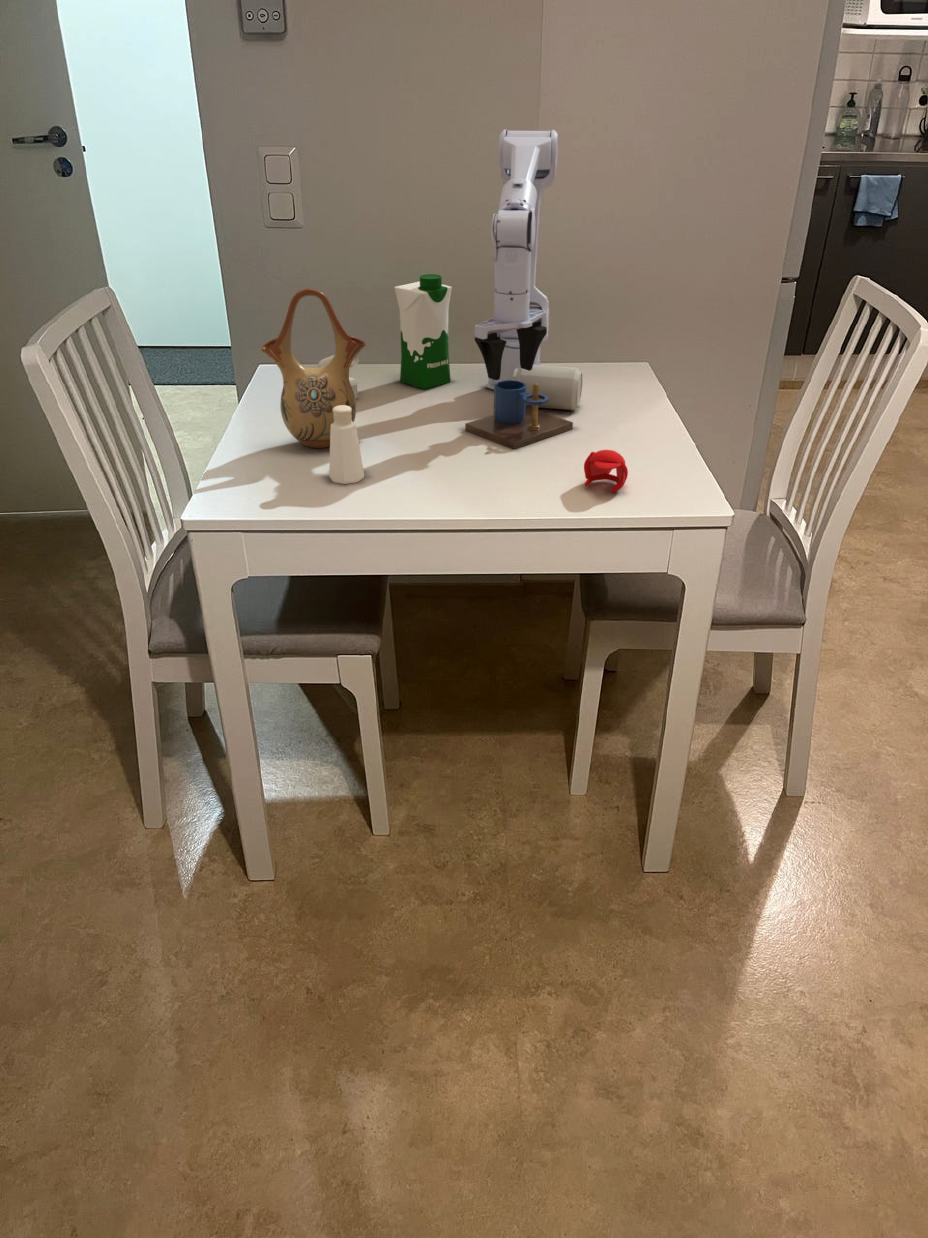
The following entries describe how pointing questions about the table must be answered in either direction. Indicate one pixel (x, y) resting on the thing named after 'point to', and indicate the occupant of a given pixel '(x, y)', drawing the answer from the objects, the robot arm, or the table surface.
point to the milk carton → (424, 332)
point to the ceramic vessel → (313, 379)
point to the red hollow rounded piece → (605, 468)
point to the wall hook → (351, 380)
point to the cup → (512, 401)
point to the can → (553, 385)
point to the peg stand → (521, 426)
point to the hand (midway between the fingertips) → (510, 373)
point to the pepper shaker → (344, 448)
